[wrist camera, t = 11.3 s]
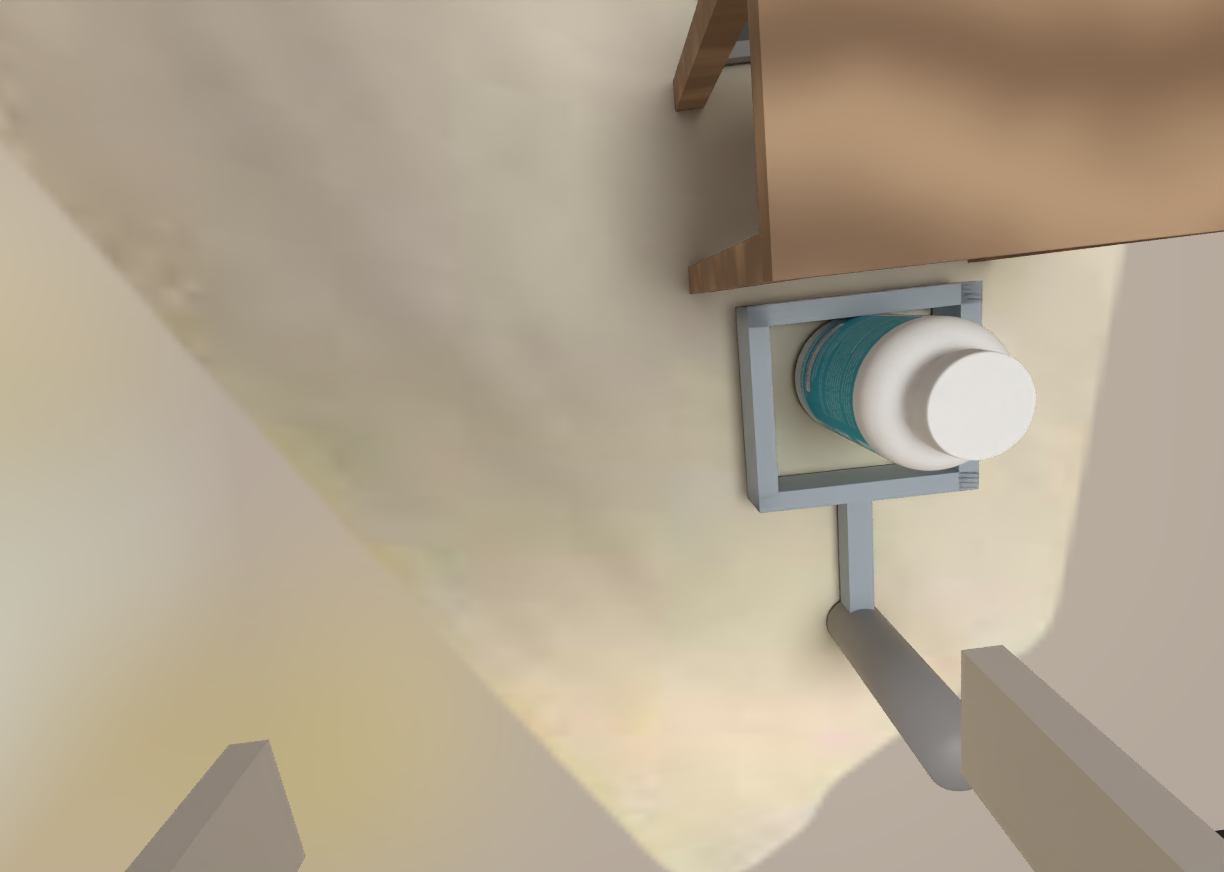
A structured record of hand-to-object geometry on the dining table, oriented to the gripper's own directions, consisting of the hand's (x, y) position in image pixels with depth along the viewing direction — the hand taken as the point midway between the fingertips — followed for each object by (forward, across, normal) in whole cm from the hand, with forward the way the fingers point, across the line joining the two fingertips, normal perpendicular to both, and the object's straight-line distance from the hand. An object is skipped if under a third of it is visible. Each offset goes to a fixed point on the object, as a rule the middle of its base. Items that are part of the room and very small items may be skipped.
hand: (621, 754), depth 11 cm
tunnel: (+28, +16, +14) cm, 35 cm away
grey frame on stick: (+28, +15, -6) cm, 32 cm away
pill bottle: (+28, +16, +2) cm, 32 cm away
